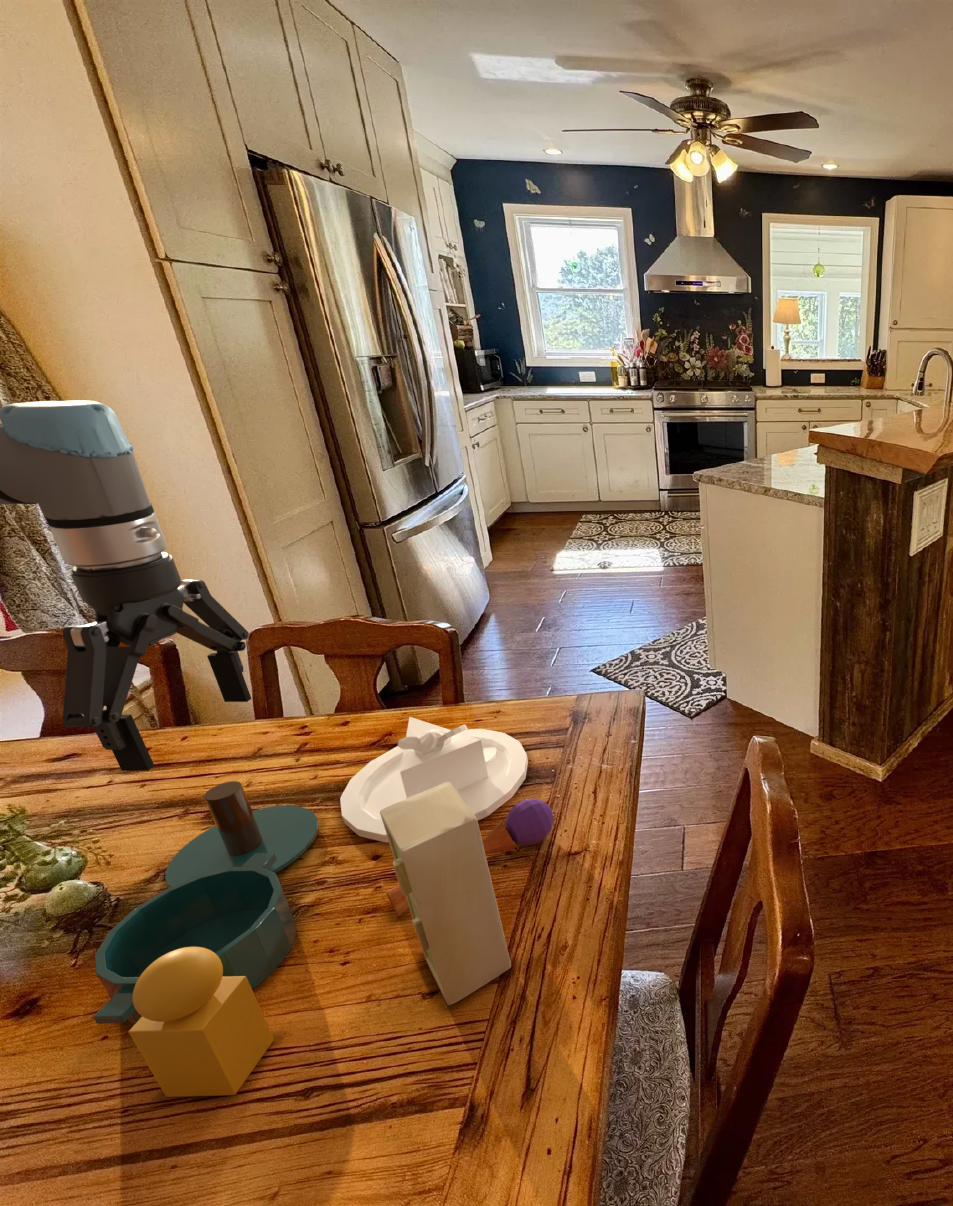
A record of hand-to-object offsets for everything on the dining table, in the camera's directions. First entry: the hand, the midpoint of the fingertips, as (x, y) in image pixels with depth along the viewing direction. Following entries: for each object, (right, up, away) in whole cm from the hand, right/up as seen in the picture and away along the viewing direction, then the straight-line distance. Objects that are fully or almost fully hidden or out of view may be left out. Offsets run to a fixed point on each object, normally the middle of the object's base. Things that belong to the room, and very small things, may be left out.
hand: (192, 731), depth 74 cm
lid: (-2, -17, +10) cm, 20 cm away
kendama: (+29, -20, +9) cm, 36 cm away
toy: (+16, -29, -14) cm, 36 cm away
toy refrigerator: (+34, -25, -4) cm, 42 cm away
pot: (+7, -24, -4) cm, 26 cm away
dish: (+15, -13, +24) cm, 31 cm away
